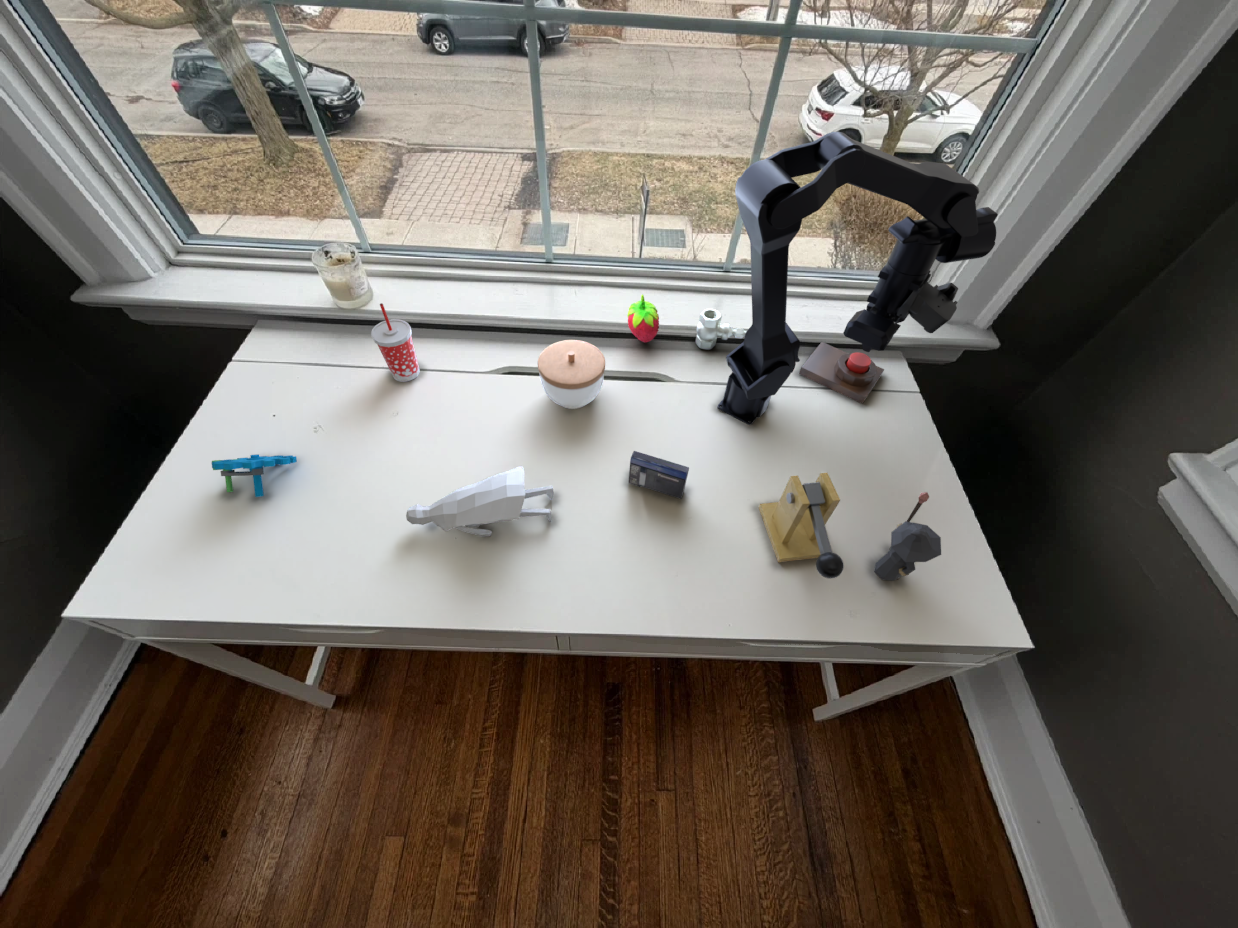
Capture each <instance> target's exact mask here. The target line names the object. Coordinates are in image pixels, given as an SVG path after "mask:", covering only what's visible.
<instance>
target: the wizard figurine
mask: <svg viewBox="0 0 1238 928" xmlns="http://www.w3.org/2000/svg"><path fill="white" fill-rule="evenodd" d="M929 498H930V495H929V493H928V491H924V492H920V494H919V496H918V501H917V503H916V504H915V506H914V508H913V509H912V511H911V513H910V514H909V516H908V518H907V520H905V521H904V522H900V523H898V524H896V528H895V529H894V530H892V531H891V534H890V535H891V538H890V541H891V542H890V548H889V550H888V551H887V552H886V553H884V555H882V557H880V558H879V559H878V560H877V561H876V562H875V564H874V571H873V573H875V575H876V576H878V577H879V578H880V579H881V580H883V581H896V580H898V581H899V578H901V576H902V577H906V576H909V575H910V574H911V573H912V572H914V571H916V565H915V563H926V562H930V561H931V560H933V559H935V558H938V557H941V556H942V538H941V536H940V535H939V534H938V533H936V531H934V530H933V529H932V528H931V527H930V526H929V525H927V524H923V523H918V522H912V520H913V518H914V517H915V516H916V514H917V512H918V511H919V510H920V508H921V507H922V505H923V504H924V503H927V502H928V500H929Z"/></svg>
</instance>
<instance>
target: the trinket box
mask: <svg viewBox="0 0 1238 928" xmlns="http://www.w3.org/2000/svg"><path fill="white" fill-rule="evenodd" d="M537 370H538V373H539V380H540V383H541V387H542V388H543V391H544V393H545V395H547V397H548V398H549V400H550V401H553V403H555V404H556V405H558V406H560V407H562V408H565V409H569V410H576V409H577V410H578V409H580V408H583V407H585V406H586V405H588V404H590V403H591V402H592V401H594V400H595V399H596V398H597V396H598V395H599V394H600V392H601V389H602V388H603V384H604V379H605V370H606V358H605V355H604V353H603V352H602V351H601V350H600V349H599V347H597V346H595V345H594V344H592V343H590V342H587V341H585V340H584V341H583V340H579V339H565V340H559V341H556V342H554V343H551V344H550V345H548V346H547V347H545V348H544V349H543V350H542V351H541V352H540V354H539V356H538V358H537Z"/></svg>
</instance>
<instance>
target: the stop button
mask: <svg viewBox="0 0 1238 928" xmlns="http://www.w3.org/2000/svg"><path fill="white" fill-rule="evenodd" d="M851 353H852V354H851V355H850V357H849V359H848V361H847V363H846V366H847V368H848V369H849V370H850V371H852V372H854V373H859V374H862V373H865V372H866V371H867V370H868V368H869V366H870V364H871V360H872V359H871V357H870V356H868V355H867V354H866V353H863V352H859V351H857V352H856V351H855V352H851Z"/></svg>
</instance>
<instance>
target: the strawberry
mask: <svg viewBox="0 0 1238 928" xmlns="http://www.w3.org/2000/svg"><path fill="white" fill-rule="evenodd" d="M658 311H659V310H658V308H657V307H656V306H655V305H654V304H653V303H652V302H650V301H648V300H645V296H644V294H641V295H640V300H638V301H635V302H633V303H631V304H630V306H629V307H628V311H627V315H626V316H627V325H628V328H629V330H630V332H631V333H632V335H633V336H635V338H636V339H637V340H638V341H640V342H641V343H650V342H651V341H653V340H654V339H655V337H656V336H657V335H658V332H659V329H660V326H659V325H660V321H659V320H660V316H659V314H658Z"/></svg>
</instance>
